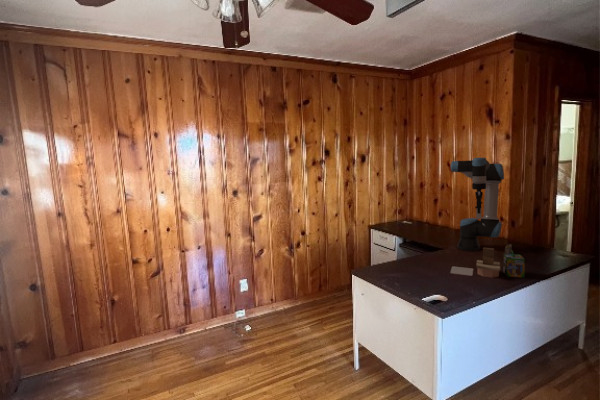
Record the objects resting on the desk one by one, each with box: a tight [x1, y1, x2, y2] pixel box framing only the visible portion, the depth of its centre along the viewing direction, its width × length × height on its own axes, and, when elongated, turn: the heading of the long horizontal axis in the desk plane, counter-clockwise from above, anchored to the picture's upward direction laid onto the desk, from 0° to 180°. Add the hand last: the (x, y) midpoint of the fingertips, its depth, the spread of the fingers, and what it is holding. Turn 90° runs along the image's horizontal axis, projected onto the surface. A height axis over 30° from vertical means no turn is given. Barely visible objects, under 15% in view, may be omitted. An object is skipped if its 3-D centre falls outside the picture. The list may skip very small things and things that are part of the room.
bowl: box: [476, 268, 500, 278], centre depth 190 cm, size 11×11×5 cm
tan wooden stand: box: [475, 247, 501, 271], centre depth 189 cm, size 12×12×11 cm
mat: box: [449, 266, 474, 277], centre depth 198 cm, size 13×12×1 cm
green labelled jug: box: [502, 249, 526, 279], centre depth 187 cm, size 9×9×15 cm
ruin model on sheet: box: [504, 243, 513, 254], centre depth 220 cm, size 11×3×10 cm, turn 140°
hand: (478, 216), depth 201 cm, fingers open, 13 cm apart
